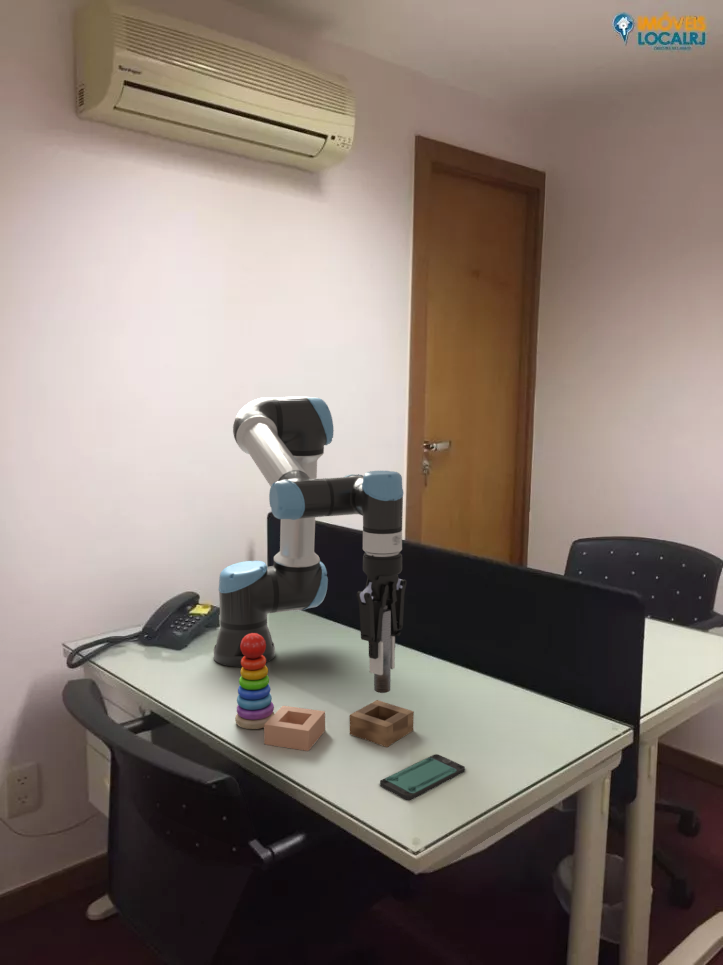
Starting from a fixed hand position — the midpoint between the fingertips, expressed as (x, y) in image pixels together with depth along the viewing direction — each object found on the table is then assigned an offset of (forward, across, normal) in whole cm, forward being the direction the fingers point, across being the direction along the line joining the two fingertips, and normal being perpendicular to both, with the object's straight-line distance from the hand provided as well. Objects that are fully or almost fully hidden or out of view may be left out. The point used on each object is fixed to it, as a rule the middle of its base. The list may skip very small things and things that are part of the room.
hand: (382, 670), depth 154 cm
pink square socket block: (+13, -12, +12) cm, 21 cm away
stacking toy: (+13, -12, +23) cm, 29 cm away
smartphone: (+14, -10, -16) cm, 23 cm away
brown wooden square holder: (+13, 0, 0) cm, 13 cm away
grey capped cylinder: (+4, 0, 0) cm, 4 cm away
